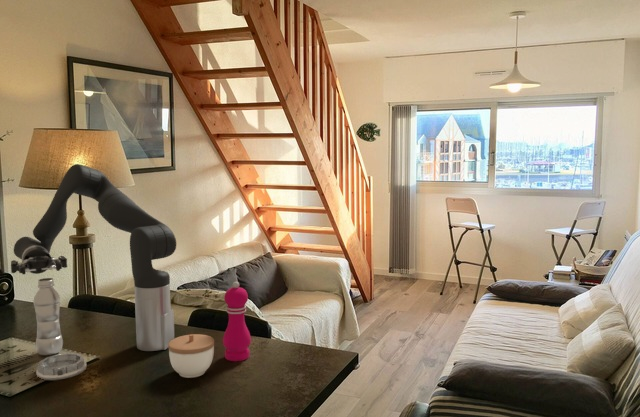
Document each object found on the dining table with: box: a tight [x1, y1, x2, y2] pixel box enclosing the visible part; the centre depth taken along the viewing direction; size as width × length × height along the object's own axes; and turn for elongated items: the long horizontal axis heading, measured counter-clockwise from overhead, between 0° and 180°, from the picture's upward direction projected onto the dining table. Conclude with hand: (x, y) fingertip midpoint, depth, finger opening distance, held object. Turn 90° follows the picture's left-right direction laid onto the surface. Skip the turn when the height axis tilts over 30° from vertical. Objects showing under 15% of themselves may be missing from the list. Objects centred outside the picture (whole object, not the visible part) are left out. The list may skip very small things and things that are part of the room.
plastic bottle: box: [32, 277, 64, 356], centre depth 139 cm, size 6×7×20 cm
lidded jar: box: [167, 333, 215, 379], centre depth 127 cm, size 11×11×9 cm
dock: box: [35, 352, 87, 381], centre depth 129 cm, size 11×11×2 cm
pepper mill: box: [222, 281, 252, 362], centre depth 137 cm, size 7×7×20 cm
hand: (41, 268), depth 147 cm, fingers open, 8 cm apart
